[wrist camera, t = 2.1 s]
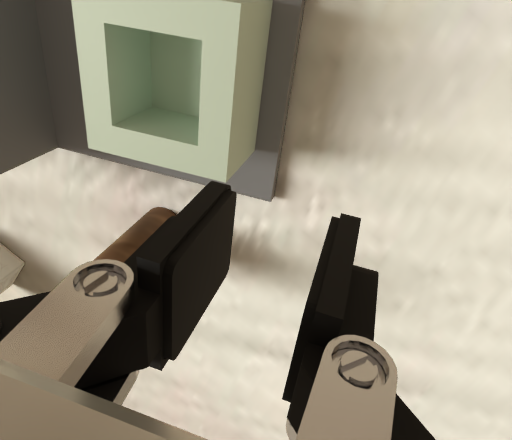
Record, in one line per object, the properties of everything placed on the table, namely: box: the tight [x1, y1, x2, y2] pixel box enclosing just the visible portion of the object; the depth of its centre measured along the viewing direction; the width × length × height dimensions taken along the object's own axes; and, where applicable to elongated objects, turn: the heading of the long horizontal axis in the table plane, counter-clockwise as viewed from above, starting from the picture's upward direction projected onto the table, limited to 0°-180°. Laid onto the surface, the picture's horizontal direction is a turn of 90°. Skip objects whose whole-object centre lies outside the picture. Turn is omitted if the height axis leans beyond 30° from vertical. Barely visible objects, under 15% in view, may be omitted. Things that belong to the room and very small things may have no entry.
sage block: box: [71, 0, 273, 183], centre depth 26 cm, size 10×10×6 cm
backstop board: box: [0, 0, 305, 202], centre depth 26 cm, size 22×18×11 cm
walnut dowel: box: [93, 207, 177, 263], centre depth 33 cm, size 4×4×12 cm
